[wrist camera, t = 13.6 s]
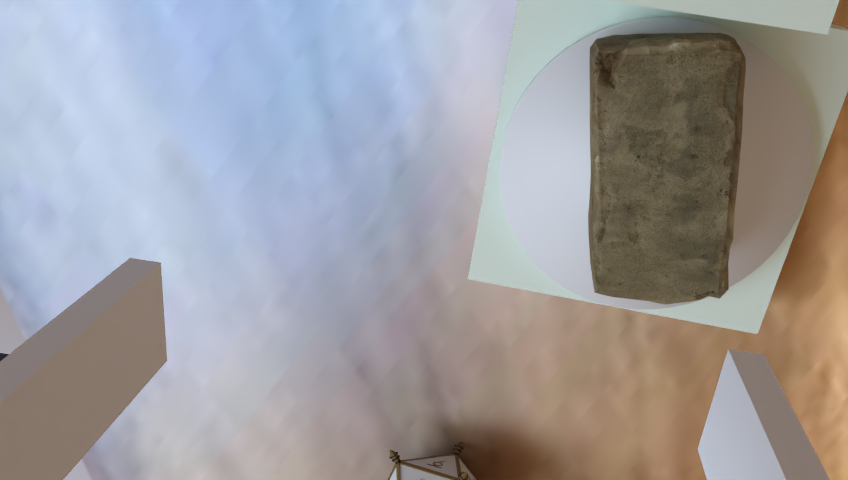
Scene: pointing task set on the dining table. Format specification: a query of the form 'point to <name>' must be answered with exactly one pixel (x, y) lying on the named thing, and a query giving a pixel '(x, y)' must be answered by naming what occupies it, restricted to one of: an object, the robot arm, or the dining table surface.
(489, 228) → the scale
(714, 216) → the stone block
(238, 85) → the dining table surface
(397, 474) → the game die
